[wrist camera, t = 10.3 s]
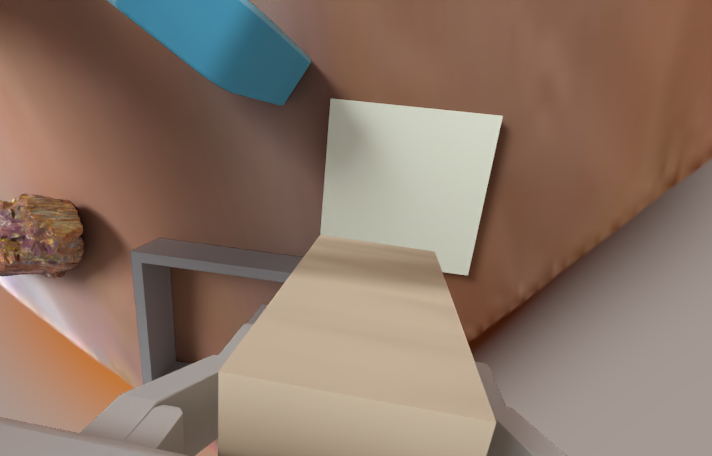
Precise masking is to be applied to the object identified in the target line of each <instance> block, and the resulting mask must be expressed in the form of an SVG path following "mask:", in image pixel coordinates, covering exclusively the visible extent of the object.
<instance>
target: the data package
mask: <svg viewBox="0 0 712 456" xmlns="http://www.w3.org/2000/svg"><path fill="white" fill-rule="evenodd" d="M107 1H108V2H109V3H111V4H112V5H113V6H114V7H116V8H117V9H118V10H119V11H121V12H122V13H123V14H125V15H126V16H127V17H128V18H130V19H131V20H132V21H133V22H135V23H136V24H137V25H139V26H140V27H141V28H142V29H144V30H145V31H146V32H147V33H149V34H150V35H151V36H153V37H154V38H155V39H156V40H158V41H159V42H160V43H161V44H163V45H164V46H165V47H167V48H168V49H169V50H170V51H172V52H173V53H174V54H176V55H177V56H178V57H179V58H181V59H182V60H183V61H184V62H186V63H187V64H188V65H190V66H191V67H192V68H193V69H195V70H196V71H197V72H198V73H200V74H201V75H202V76H204V77H205V78H207V79H208V80H210V81H211V82H213V83H214V84H216V85H217V86H219V87H221V88H223V89H225V90H227V91H229V92H231V93H235V94H238V95H242V96H246V97H250V98H254V99H257V100H261V101H265V102H269V103H272V104H276V105H280V106H282V105H284V104H285V102H286V101H287V99H288V98H289V96H290V95H291V93H292V91H293V90H294V88H295V87H296V85H297V84H298V82H299V81H300V79H301V78H302V76H303V74H304V73H305V71H306V70H307V68H308V67H309V65H310V64H311V59H310V57H309V56H308V55H306V54H305V53H304V52H303V51H302V50H301V49H300V48H299V47H298V46H297V45H296V44H295V43H294V42H293V41H292V40H291V39H290V38H289V37H288V36H287V35H286V34H285V33H284V32H283V31H282V30H281V29H280V28H279V27H278V26H276V25H275V24H274V23H273V22H272V21H271V20H270V19H269V18H268V17H267V16H266V15H265V14H263V13H262V12H261V11H260V10H259V9H258V8H257V7H255V6H254V5H253V4H252V3H251V2H249V1H248V0H107Z"/></svg>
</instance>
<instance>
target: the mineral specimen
mask: <svg viewBox="0 0 712 456" xmlns="http://www.w3.org/2000/svg"><path fill="white" fill-rule="evenodd" d="M82 232H83V225H82V224H81V223H80V218H79V216H78V212H77V210H75V207H74V206H73V205H72V203H71V201H69V200H61V199H53V198H49V197H44V196H39V195H28V194H22V195H20V196H19V198H18V199H17V198H15V199H12V200H10V201H9V202H8V201H2V200H0V276H12V275H19V274H44V275H45V276H46V277H51V278H54V277H62V276H64V274H65V272H66V270H67V269H72V268H74V267H76V266H77V265H78V262H79V261H80V260H82V259H83V258H82V255H83V253H84V251H83V245H84V242H83V241H82V238H81V237H79V236H80V235H81V234H82Z"/></svg>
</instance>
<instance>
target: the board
mask: <svg viewBox="0 0 712 456" xmlns="http://www.w3.org/2000/svg"><path fill="white" fill-rule="evenodd" d="M502 117H503V116H499V115H489V114H479V113H469V112H459V111H449V110H440V109H430V108H420V107H410V106H400V105H390V104H381V103H371V102H361V101H351V100H341V99H330V113H329V126H328V139H327V152H326V165H325V179H324V192H323V205H322V218H321V231H320V235H326V236H333V237H340V238H347V239H353V240H360V241H367V242H374V243H380V244H387V245H394V246H401V247H407V248H414V249H421V250H428V251H435V253H436V256H437V259H438V262H439V265H440V267H441V270H442V272H445V273H453V274H460V275H468V273H469V269H470V264H471V259H472V255H473V250H474V246H475V241H476V237H477V232H478V227H479V223H480V218H481V214H482V209H483V204H484V200H485V195H486V191H487V186H488V182H489V177H490V172H491V168H492V163H493V159H494V154H495V149H496V145H497V140H498V136H499V131H500V127H501V122H502Z"/></svg>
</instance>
